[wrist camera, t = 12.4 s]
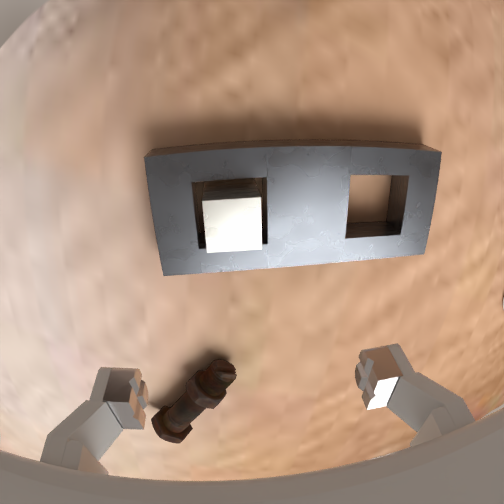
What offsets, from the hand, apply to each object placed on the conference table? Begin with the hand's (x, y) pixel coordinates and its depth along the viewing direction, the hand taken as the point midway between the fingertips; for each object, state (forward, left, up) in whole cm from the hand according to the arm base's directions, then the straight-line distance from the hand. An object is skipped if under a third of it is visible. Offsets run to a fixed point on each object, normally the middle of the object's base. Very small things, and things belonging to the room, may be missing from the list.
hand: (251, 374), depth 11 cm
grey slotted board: (-6, 0, -18) cm, 19 cm away
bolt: (+6, +25, -19) cm, 31 cm away
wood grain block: (0, 0, -18) cm, 18 cm away
